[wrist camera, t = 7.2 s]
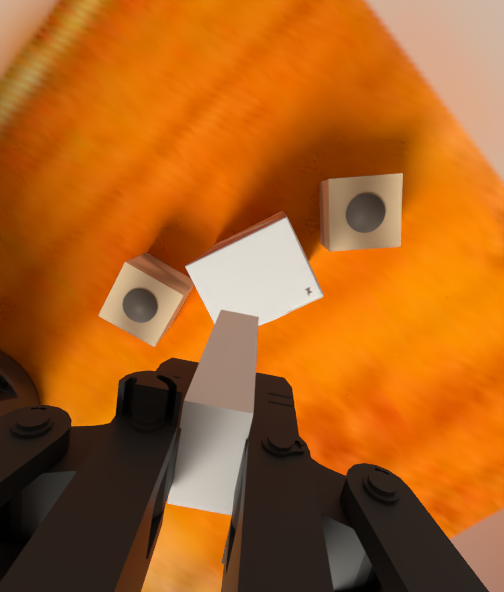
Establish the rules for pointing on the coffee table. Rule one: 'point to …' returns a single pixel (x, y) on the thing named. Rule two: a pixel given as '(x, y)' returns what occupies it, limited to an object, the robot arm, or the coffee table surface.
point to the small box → (256, 272)
